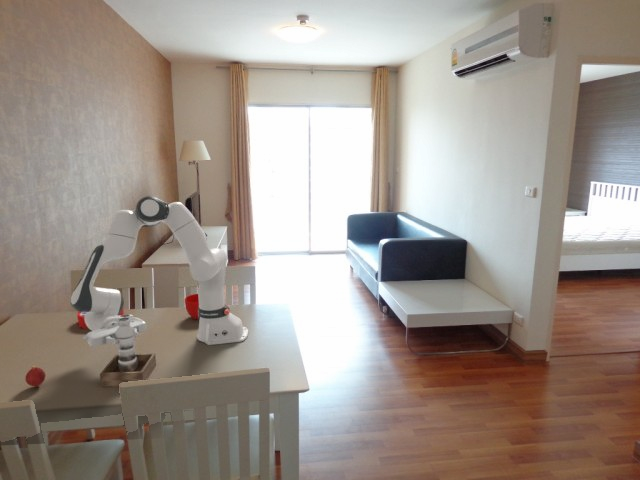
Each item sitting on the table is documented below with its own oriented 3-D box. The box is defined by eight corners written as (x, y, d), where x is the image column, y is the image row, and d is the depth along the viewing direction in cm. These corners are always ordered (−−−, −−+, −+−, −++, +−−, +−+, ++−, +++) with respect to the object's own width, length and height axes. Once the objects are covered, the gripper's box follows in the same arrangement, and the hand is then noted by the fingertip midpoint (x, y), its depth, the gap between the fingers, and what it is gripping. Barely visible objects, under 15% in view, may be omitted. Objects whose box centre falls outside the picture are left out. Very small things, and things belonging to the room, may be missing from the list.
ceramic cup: (222, 311, 219) (221, 293, 217) (200, 323, 204) (199, 304, 202) (202, 307, 224) (201, 289, 222) (180, 319, 209) (178, 300, 207)
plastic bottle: (132, 375, 153) (128, 323, 149) (114, 373, 154) (109, 322, 150) (141, 366, 160) (137, 316, 155) (124, 365, 160) (120, 315, 156)
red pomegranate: (33, 382, 152) (30, 362, 151) (50, 381, 153) (47, 361, 151) (23, 391, 147) (20, 370, 145) (41, 390, 147) (37, 369, 145)
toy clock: (101, 300, 219) (132, 305, 213) (102, 311, 220) (133, 316, 214) (67, 314, 201) (99, 320, 194) (68, 325, 202) (101, 331, 195)
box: (156, 365, 165) (155, 353, 164) (143, 385, 151) (142, 372, 150) (117, 366, 164) (116, 354, 163) (101, 386, 150) (99, 374, 148)
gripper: (80, 328, 154) (95, 339, 145) (135, 312, 169) (152, 322, 160) (81, 344, 155) (97, 356, 147) (136, 327, 170) (153, 337, 162)
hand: (126, 338), depth 154 cm, fingers closed on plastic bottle, 6 cm apart
